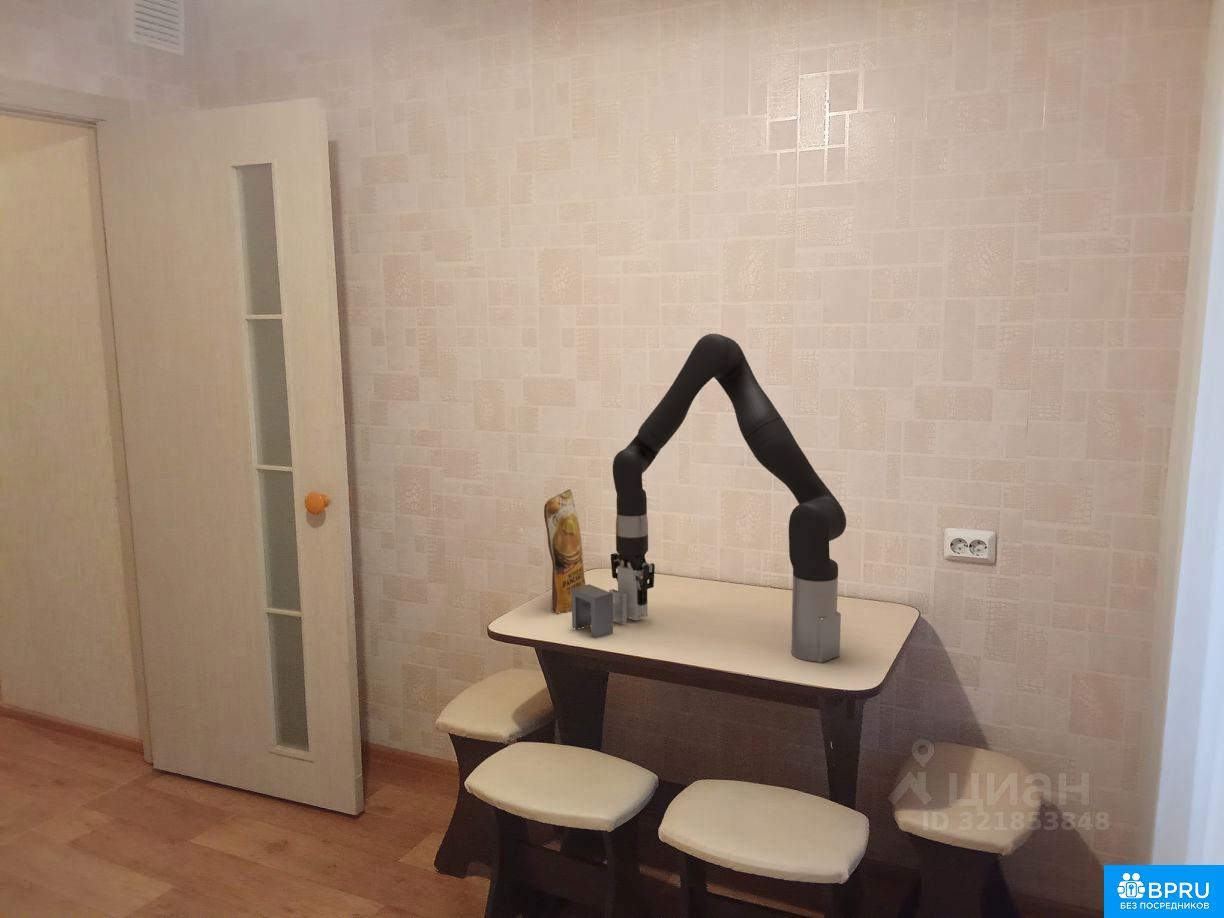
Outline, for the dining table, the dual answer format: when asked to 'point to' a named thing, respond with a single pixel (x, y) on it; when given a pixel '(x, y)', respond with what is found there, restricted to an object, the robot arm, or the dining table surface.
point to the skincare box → (631, 593)
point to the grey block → (619, 606)
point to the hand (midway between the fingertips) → (632, 600)
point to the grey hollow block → (592, 610)
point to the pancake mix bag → (564, 549)
